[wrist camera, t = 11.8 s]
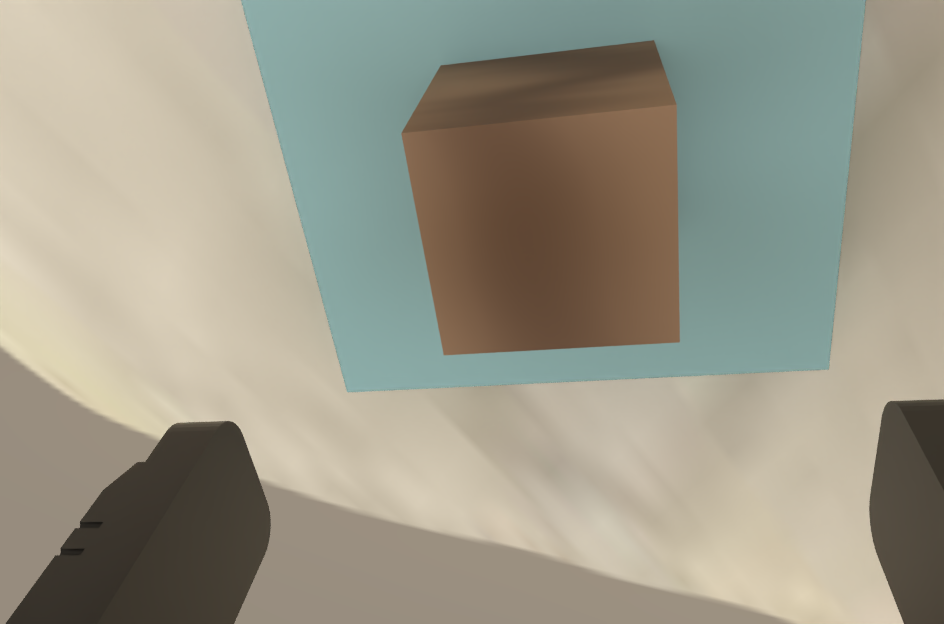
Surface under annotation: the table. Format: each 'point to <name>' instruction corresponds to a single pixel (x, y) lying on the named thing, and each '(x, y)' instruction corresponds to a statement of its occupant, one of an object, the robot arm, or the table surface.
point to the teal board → (698, 157)
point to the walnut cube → (549, 200)
